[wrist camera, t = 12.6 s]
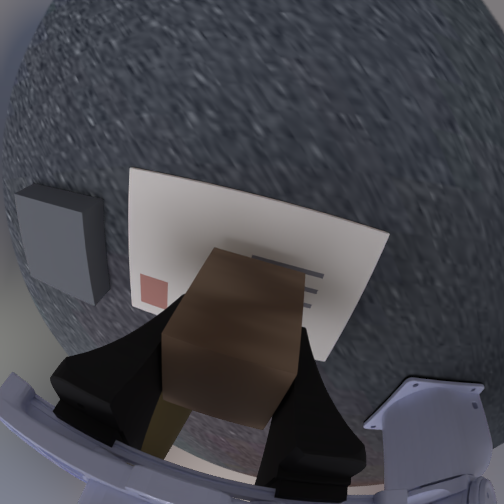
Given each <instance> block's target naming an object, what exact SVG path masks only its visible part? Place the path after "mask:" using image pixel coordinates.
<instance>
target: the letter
mask: <svg viewBox="0 0 504 504" xmlns="http://www.w3.org/2000/svg"><path fill="white" fill-rule="evenodd" d="M128 228H129V265H130V283H131V297H132V306H134V307H137V308H139V309H142V310H145V311H147V312H150V313H153V314H156V315H158V314H159V313H161V312H162V311H163V310H165V309H166V308H167V307H168V306H170V305H171V304H172V303H173V302H174V301H175V300H177V299H178V298H179V297H180V296H181V295H183V294H185V293H186V292H187V290H188V289H189V287H190V285H191V284H192V282H193V280H194V279H195V277H196V276H197V274H198V272H199V271H200V269H201V267H202V266H203V264H204V263H205V261H206V259H207V258H208V256H209V255H210V253H211V252H212V250H213V248H214V247H216V248H219V249H223V250H226V251H230V252H233V253H236V254H240V255H243V256H247V257H250V258H254V259H257V260H261V261H264V262H268V263H271V264H275V265H278V266H282V267H285V268H289V269H292V270H296V271H299V272H303V273H306V274H305V290H304V304H303V317H302V327H305V328H306V329H307V334H308V338H309V342H310V346H311V350H312V353H313V356H314V359H315V360H319V361H324V362H325V360H326V359H327V357H328V355H329V354H330V352H331V350H332V349H333V347H334V345H335V343H336V342H337V340H338V338H339V336H340V335H341V333H342V331H343V329H344V327H345V325H346V324H347V322H348V320H349V318H350V316H351V314H352V312H353V311H354V309H355V307H356V305H357V303H358V301H359V299H360V297H361V295H362V293H363V291H364V289H365V287H366V285H367V283H368V281H369V279H370V277H371V275H372V273H373V270H374V268H375V266H376V264H377V262H378V260H379V257H380V255H381V253H382V251H383V249H384V246H385V244H386V242H387V239H388V237H389V235H390V234H389V233H388V232H385V231H382V230H379V229H376V228H373V227H370V226H366V225H363V224H360V223H357V222H353V221H350V220H347V219H344V218H340V217H337V216H333V215H330V214H327V213H323V212H320V211H316V210H313V209H309V208H305V207H302V206H298V205H295V204H291V203H287V202H283V201H280V200H276V199H272V198H268V197H264V196H260V195H256V194H252V193H248V192H244V191H240V190H236V189H232V188H228V187H224V186H219V185H215V184H211V183H206V182H202V181H197V180H193V179H188V178H184V177H179V176H174V175H170V174H165V173H160V172H155V171H150V170H145V169H139V168H134V167H131V168H130V175H129V211H128Z"/></svg>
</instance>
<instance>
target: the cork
mask: <svg viewBox="0 0 504 504" xmlns="http://www.w3.org/2000/svg"><path fill="white" fill-rule="evenodd" d="M191 412H192V410H190V409H188V408H185V407H182V406H179V405H176V404H173V403H171V402H168V401H165V400H163V392H161V395H160V397H159V400H158V402H157V405H156V408H155V410H154V413H153V415H152V418H151V421H150V424H149V427H148V430H147V432H146V435H145V439H144V442H143V445H142V448H141V451H142V452H145V453H147V454H150V455H152V456H155V457H157V458H160V459H163V460H164V458H165V457H166V455H167V453H168V452H169V449H170V448H171V446H172V445H173V443H174V441H175V440H176V438H177V436H178V434H179V433H180V431H181V429H182V427H183V426H184V424H185V422H186V420H187V419H188V417H189V415H190V413H191ZM127 464H129V463H127ZM130 465H131V464H130ZM132 466H134V465H132Z"/></svg>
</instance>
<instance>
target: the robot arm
mask: <svg viewBox="0 0 504 504" xmlns="http://www.w3.org/2000/svg"><path fill="white" fill-rule="evenodd" d="M184 295H185V294H183V295H181V296H180V297H179V298H178V299H177V300H175V301H174V302H173V303H172V304H171V305H170V306H168V307H167V308H166V309H165V310H163V311H162V312H161V313H159V314H158V315H157V316H156V317H154V318H153V319H151V320H150V321H149V322H147V323H146V324H144V325H143V326H141V327H140V328H138V329H136V330H135V331H133V332H131V333H130V334H128V335H126V336H124V337H122V338H120V339H118V340H116V341H114V342H112V343H110V344H108V345H105V346H103V347H100V348H97V349H94V350H92V351H89V352H85V353H82V354H78V355H74V356H69V357H66V358H65V359H64V360H63V361H62V362H61V364H60V365H59V366H58V368H57V369H56V370H55V372H54V373H53V374H52V376H51V377H50V381H51V384H52V386H53V388H54V390H55V391H56V393H57V394H58V396H59V398H60V401H59V402H58V404H57V405H56V407H55V406H53V405H52V404H50V403H49V402H47V401H46V400H44V399H42V398H41V397H40V396H38V395H37V394H36V393H35V391H34V389H33V388H32V387H31V386H30V385H29V384H28V383H27V382H26V381H25V380H23V379H22V378H20V377H19V376H18V375H17V374H15V373H14V372H12V373H11V374H10V376H9V377H8V378H7V379H6V381H5V382H4V383H3V385H2V386H1V387H0V420H1V421H2V422H3V423H4V424H5V425H6V426H7V427H8V428H9V429H10V430H11V431H12V432H13V433H14V434H16V435H17V436H18V437H19V438H21V439H22V440H23V441H24V442H26V443H27V444H28V445H30V446H31V447H32V448H34V449H35V450H37V451H38V452H39V453H40V454H42V455H43V456H45V457H46V458H48V459H49V460H50V461H52V462H53V463H55V464H56V465H58V466H59V467H61V468H62V469H64V470H65V471H67V472H69V473H70V474H72V475H74V476H75V477H77V478H78V479H80V480H82V481H83V482H85V483H87V484H86V486H85V488H84V490H83V492H82V494H81V497H80V499H79V501H78V503H77V504H497V501H496V495H495V491H494V488H493V485H492V483H491V481H490V480H488V479H486V478H484V477H482V475H483V473H484V472H485V471H486V469H487V467H488V465H489V463H490V460H491V456H492V439H491V435H490V431H489V427H488V423H487V420H486V416H485V412H484V409H483V406H482V402H481V399H480V396H479V394H480V393H481V392H482V391H483V390H484V385H483V384H475V383H462V382H450V381H440V380H431V379H422V378H415V377H410V378H408V379H406V380H405V381H404V382H403V383H402V385H401V386H400V387H399V388H398V389H397V390H396V391H395V392H394V393H393V394H392V395H391V397H390V398H389V399H388V400H387V401H386V402H385V403H384V404H383V405H382V406H381V407H380V408H379V409H378V410H377V411H376V412H375V413H374V414H373V415H372V416H371V417H370V418H369V419H368V420H367V421H366V422H365V423H364V428H366V429H378V430H382V431H383V449H384V488H385V489H384V491H380V492H378V493H376V494H375V495H347V488H348V486H349V485H350V484H351V477H352V476H354V475H356V474H357V473H359V472H361V471H362V470H363V469H364V468H365V467H366V452H365V446H364V444H363V443H362V442H361V441H360V440H359V438H358V437H357V436H356V435H355V434H354V433H353V432H352V430H351V429H350V428H349V426H348V425H347V424H346V422H345V421H344V419H343V418H342V416H341V415H340V413H339V412H338V410H337V408H336V407H335V405H334V403H333V401H332V400H331V398H330V396H329V394H328V392H327V390H326V388H325V386H324V383H323V381H322V379H321V376H320V374H319V371H318V368H317V365H316V362H315V359H314V356H313V353H312V350H311V346H310V342H309V338H308V334H307V329H306V328H305V327H302V329H301V341H300V351H299V362H298V371H297V375H296V377H295V379H294V380H293V382H292V384H291V386H290V387H289V389H288V391H287V392H286V394H285V396H284V397H283V399H282V401H281V402H280V404H279V406H278V407H277V409H276V410H275V412H274V414H273V415H272V421H271V425H270V429H269V434H268V438H267V442H266V446H265V450H264V454H263V458H262V461H261V465H260V469H259V472H258V475H257V479H256V482H255V485H252V484H246V483H242V482H237V481H233V480H228V479H224V478H220V477H216V476H213V475H209V474H205V473H202V472H199V471H195V470H192V469H189V468H186V467H183V466H180V465H177V464H174V463H171V462H168V461H165V460H163V459H160V458H157V457H155V456H152V455H150V454H147V453H145V452H142V451H141V448H142V445H143V442H144V439H145V435H146V432H147V430H148V427H149V424H150V421H151V418H152V415H153V413H154V410H155V408H156V405H157V402H158V400H159V397H160V395H161V392H162V332H163V330H164V328H165V327H166V325H167V323H168V322H169V320H170V318H171V317H172V315H173V313H174V312H175V310H176V308H177V307H178V305H179V303H180V302H181V300H182V298H183V297H184ZM127 463H129V464H127ZM130 464H131V465H130ZM132 465H134V466H132ZM232 497H233V498H232ZM236 498H238V499H236ZM240 499H243V500H248V501H250V502H247V501H243V500H240Z"/></svg>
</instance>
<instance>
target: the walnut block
mask: <svg viewBox="0 0 504 504" xmlns="http://www.w3.org/2000/svg"><path fill="white" fill-rule="evenodd" d="M305 274H306V273H303V272H299V271H296V270H292V269H289V268H285V267H282V266H278V265H275V264H271V263H268V262H264V261H261V260H257V259H254V258H250V257H247V256H243V255H240V254H236V253H233V252H230V251H226V250H223V249H219V248H216V247H214V248H213V250H212V252H211V253H210V255H209V256H208V258H207V259H206V261H205V263H204V264H203V266H202V267H201V269H200V271H199V272H198V274H197V276H196V277H195V279H194V280H193V282H192V284H191V285H190V287H189V289H188V290H187V292H186V293H185V295H184V297H183V298H182V300H181V302H180V303H179V305H178V307H177V308H176V310H175V312H174V313H173V315H172V317H171V318H170V320H169V322H168V323H167V325H166V327H165V328H164V330H163V332H162V392H163V400H165V401H168V402H171V403H173V404H176V405H179V406H182V407H185V408H188V409H190V410H193V411H196V412H199V413H203V414H206V415H209V416H212V417H215V418H219V419H222V420H226V421H229V422H233V423H237V424H240V425H244V426H248V427H252V428H256V429H260V430H263V429H264V428H265V426H266V425H267V423H268V422H269V420H270V418H271V417H272V415H273V414H274V412H275V410H276V409H277V407H278V406H279V404H280V402H281V401H282V399H283V397H284V396H285V394H286V392H287V391H288V389H289V387H290V386H291V384H292V382H293V380H294V379H295V377H296V375H297V371H298V362H299V351H300V341H301V329H302V317H303V304H304V290H305Z"/></svg>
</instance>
